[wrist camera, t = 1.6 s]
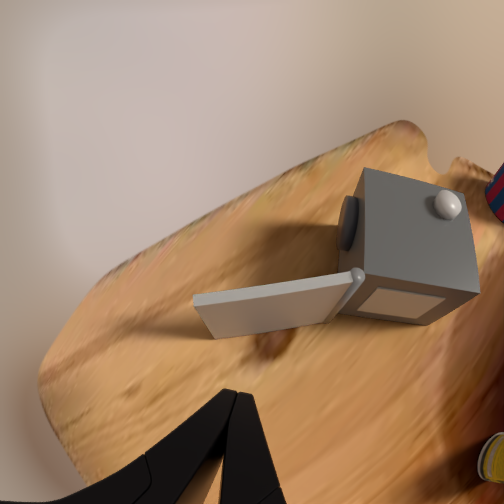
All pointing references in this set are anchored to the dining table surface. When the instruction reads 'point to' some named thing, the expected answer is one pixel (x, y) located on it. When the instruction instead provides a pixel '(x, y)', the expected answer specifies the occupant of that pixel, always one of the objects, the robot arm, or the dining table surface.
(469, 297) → the camera body
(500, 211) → the mug
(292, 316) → the side door
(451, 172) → the dining table surface
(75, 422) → the dining table surface
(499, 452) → the supplement bottle
